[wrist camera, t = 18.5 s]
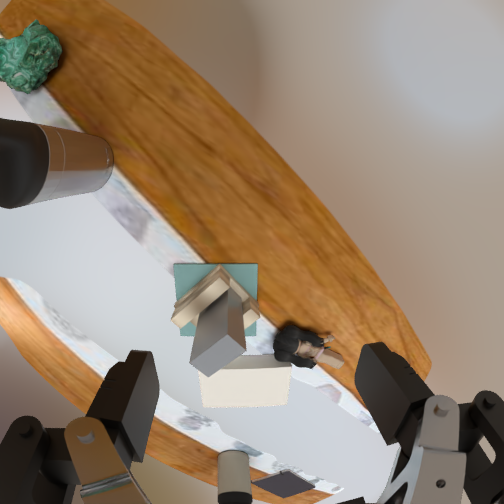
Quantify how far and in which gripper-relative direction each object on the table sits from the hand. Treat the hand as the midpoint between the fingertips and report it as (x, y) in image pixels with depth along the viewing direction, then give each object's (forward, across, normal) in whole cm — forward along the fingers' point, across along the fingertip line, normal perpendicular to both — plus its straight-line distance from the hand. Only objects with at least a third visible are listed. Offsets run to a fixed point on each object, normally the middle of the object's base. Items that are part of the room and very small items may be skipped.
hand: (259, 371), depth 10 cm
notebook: (+34, -14, +82) cm, 90 cm away
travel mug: (+33, +2, +60) cm, 69 cm away
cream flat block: (+33, -1, +29) cm, 44 cm away
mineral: (+33, +40, -33) cm, 62 cm away
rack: (+33, +4, +13) cm, 35 cm away
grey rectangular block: (+31, +3, +12) cm, 34 cm away
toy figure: (+34, -13, +22) cm, 42 cm away
